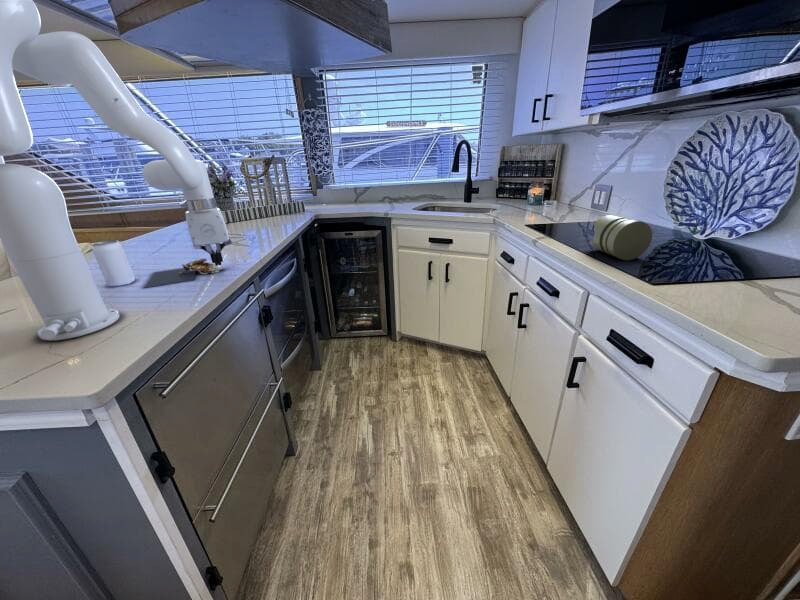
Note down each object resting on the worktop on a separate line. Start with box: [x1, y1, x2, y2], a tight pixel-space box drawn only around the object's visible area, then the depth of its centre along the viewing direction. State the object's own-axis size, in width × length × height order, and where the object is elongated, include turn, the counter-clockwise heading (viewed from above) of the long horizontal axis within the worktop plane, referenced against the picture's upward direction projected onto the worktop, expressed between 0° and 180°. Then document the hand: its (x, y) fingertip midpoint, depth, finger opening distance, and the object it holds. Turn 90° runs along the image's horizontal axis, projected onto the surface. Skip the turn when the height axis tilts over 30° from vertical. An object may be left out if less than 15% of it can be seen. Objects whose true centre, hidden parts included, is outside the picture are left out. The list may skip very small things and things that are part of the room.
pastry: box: [179, 258, 222, 275], centre depth 100 cm, size 7×12×4 cm, turn 88°
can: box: [91, 239, 136, 288], centre depth 91 cm, size 6×6×12 cm
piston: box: [588, 214, 653, 261], centre depth 98 cm, size 11×12×11 cm
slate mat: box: [143, 267, 198, 289], centre depth 98 cm, size 16×12×1 cm
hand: (218, 264), depth 102 cm, fingers closed
